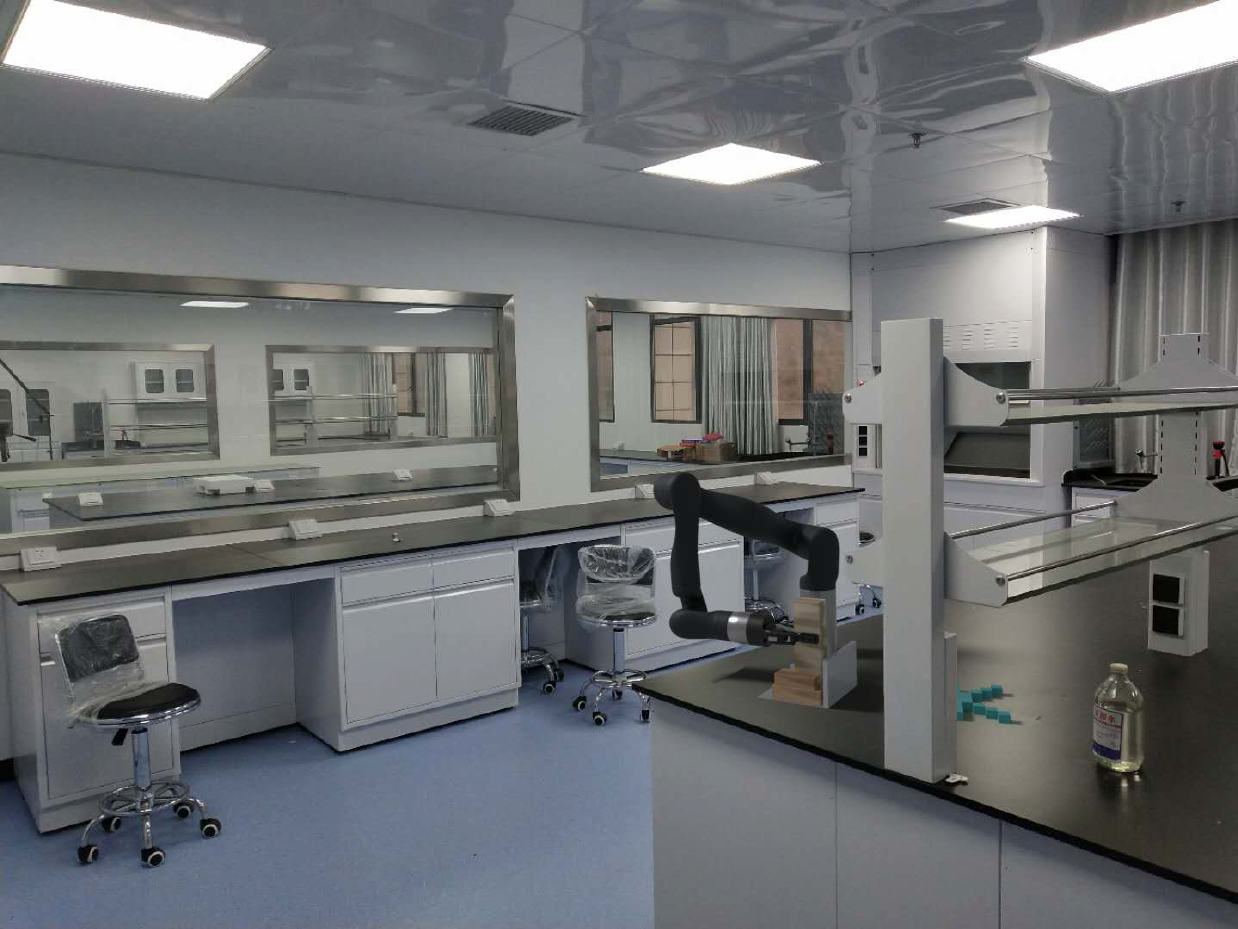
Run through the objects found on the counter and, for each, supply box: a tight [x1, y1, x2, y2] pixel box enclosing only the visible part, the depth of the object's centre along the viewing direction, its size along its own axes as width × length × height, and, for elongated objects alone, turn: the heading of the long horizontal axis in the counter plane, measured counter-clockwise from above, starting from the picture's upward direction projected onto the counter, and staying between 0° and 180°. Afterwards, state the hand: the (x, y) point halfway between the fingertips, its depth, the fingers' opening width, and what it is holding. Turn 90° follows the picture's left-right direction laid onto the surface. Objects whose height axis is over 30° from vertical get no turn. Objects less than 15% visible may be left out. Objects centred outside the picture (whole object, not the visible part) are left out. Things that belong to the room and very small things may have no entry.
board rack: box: [757, 640, 858, 709], centre depth 202 cm, size 18×16×12 cm
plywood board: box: [793, 596, 827, 676], centre depth 204 cm, size 4×6×20 cm, turn 57°
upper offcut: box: [773, 667, 822, 691], centre depth 199 cm, size 5×9×2 cm, turn 57°
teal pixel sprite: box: [956, 682, 1012, 725], centre depth 195 cm, size 20×2×20 cm
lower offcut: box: [771, 682, 823, 704], centre depth 199 cm, size 5×11×2 cm, turn 57°
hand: (822, 636), depth 202 cm, fingers closed on plywood board, 4 cm apart
